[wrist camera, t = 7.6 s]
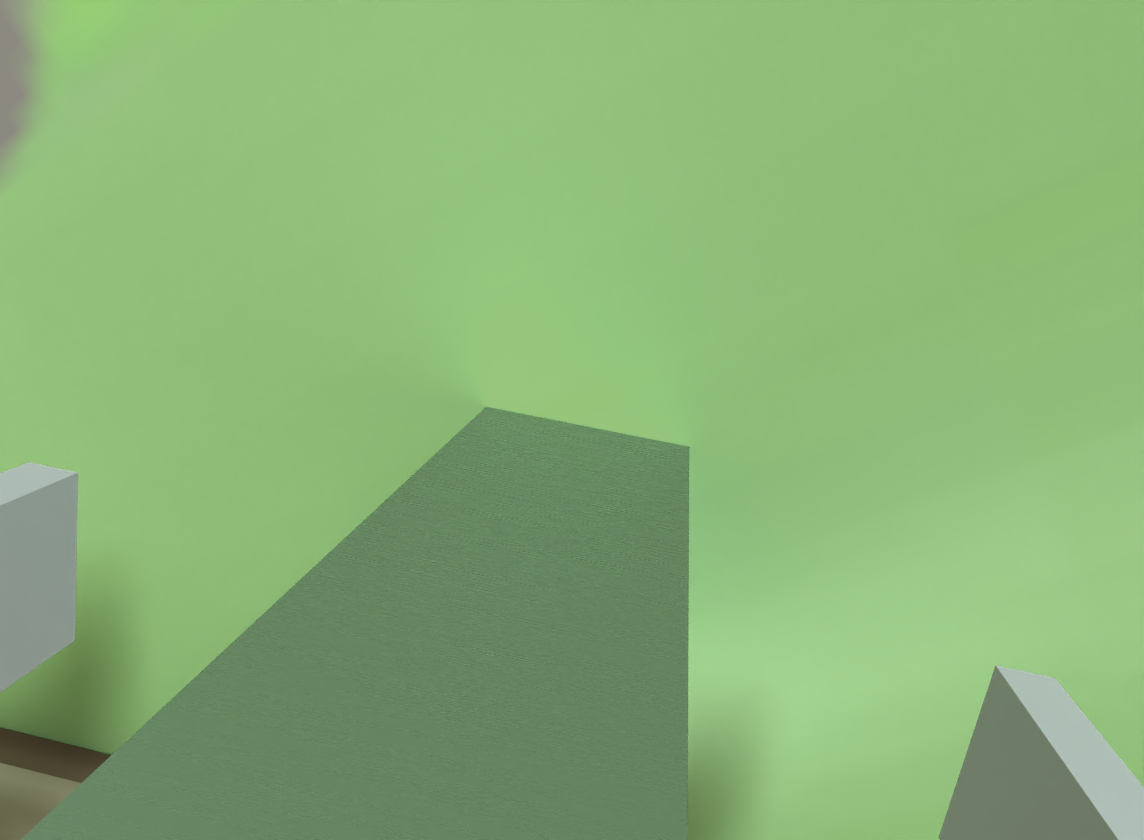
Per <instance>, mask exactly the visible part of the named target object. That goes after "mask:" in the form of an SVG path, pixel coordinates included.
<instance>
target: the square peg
mask: <svg viewBox="0 0 1144 840" xmlns="http://www.w3.org/2000/svg"><path fill="white" fill-rule="evenodd" d="M688 588H689V447H685V446H680V445H675V444H670V443H665V442H660V441H655V440H650V439H645V438H640V437H635V436H630V435H624V434H619V433H614V432H609V431H604V430H599V429H594V428H589V427H584V426H579V425H574V424H569V423H564V422H559V421H554V420H549V419H544V418H539V417H534V416H529V415H523V414H518V413H513V412H508V411H503V410H498V409H493V408H488V407H485V408H484V409H483V410H482V411H481V412H480V413H479V414H478V415H477V416H476V417H475V418H474V419H473V420H471V421H470V422H469V423H468V424H467V425H466V426H465V427H464V428H463V429H462V430H461V431H460V432H459V433H457V434H456V435H455V436H454V437H453V438H452V439H451V440H450V441H449V442H448V443H447V444H446V445H445V446H443V447H442V448H441V449H440V450H439V451H438V452H437V453H436V454H435V455H434V456H433V457H432V458H431V459H430V460H428V461H427V462H426V463H425V464H424V465H423V466H422V467H421V468H420V469H419V470H418V471H417V472H416V473H414V474H413V475H412V476H411V477H410V478H409V479H408V480H407V481H406V482H405V483H404V484H403V485H402V486H400V487H399V488H398V489H397V490H396V491H395V492H394V493H393V494H392V495H391V496H390V497H389V498H388V499H386V500H385V501H384V502H383V503H382V504H381V505H380V506H379V507H378V508H377V509H376V510H375V511H374V512H372V513H371V514H370V515H369V516H368V517H367V518H366V519H365V520H364V521H363V522H362V523H361V524H360V525H359V526H357V527H356V528H355V529H354V530H353V531H352V532H351V533H350V534H349V535H348V536H347V537H346V538H345V539H343V540H342V541H341V542H340V543H339V544H338V545H337V546H336V547H335V548H334V549H333V550H332V551H331V552H329V553H328V554H327V555H326V556H325V557H324V558H323V559H322V560H321V561H320V562H319V563H318V564H317V565H315V566H314V567H313V568H312V569H311V570H310V571H309V572H308V573H307V574H306V575H305V576H304V577H303V578H301V579H300V580H299V581H298V582H297V583H296V584H295V585H294V586H293V587H292V588H291V589H290V590H289V591H288V592H286V593H285V594H284V595H283V596H282V597H281V598H280V599H279V600H278V601H277V602H276V603H275V604H274V605H272V606H271V607H270V608H269V609H268V610H267V611H266V612H265V613H264V614H263V615H262V616H261V617H260V618H258V619H257V620H256V621H255V622H254V623H253V624H252V625H251V626H250V627H249V628H248V629H247V630H246V631H244V632H243V633H242V634H241V635H240V636H239V637H238V638H237V639H236V640H235V641H234V642H233V643H232V644H230V645H229V646H228V647H227V648H226V649H225V650H224V651H223V652H222V653H221V654H220V655H219V656H218V657H217V658H215V659H214V660H213V661H212V662H211V663H210V664H209V665H208V666H207V667H206V668H205V669H204V670H203V671H201V672H200V673H199V674H198V675H197V676H196V677H195V678H194V679H193V680H192V681H191V682H190V683H189V684H187V685H186V686H185V687H184V688H183V689H182V690H181V691H180V692H179V693H178V694H177V695H176V696H175V697H173V698H172V699H171V700H170V701H169V702H168V703H167V704H166V705H165V706H164V707H163V708H162V709H161V710H159V711H158V712H157V713H156V714H155V715H154V716H153V717H152V718H151V719H150V720H149V721H148V722H147V723H146V724H144V725H143V726H142V727H141V728H140V729H139V730H138V731H137V732H136V733H135V734H134V735H133V736H132V737H130V738H129V739H128V740H127V741H126V742H125V743H124V744H123V745H122V746H121V747H120V748H119V749H118V750H116V751H115V752H114V753H113V754H112V755H111V756H110V757H109V758H108V759H107V760H106V761H105V762H104V763H102V764H101V765H100V766H99V767H98V768H97V769H96V770H95V771H94V772H93V773H92V774H91V775H90V776H88V777H87V778H86V779H85V780H84V781H83V782H82V783H81V784H80V785H79V786H78V787H77V788H76V789H75V790H73V791H72V792H71V793H70V794H69V795H68V796H67V797H66V798H65V799H64V800H63V801H62V802H61V803H59V804H58V805H57V806H56V807H55V808H54V809H53V810H52V811H51V812H50V813H49V814H48V815H47V816H45V817H44V818H43V819H42V820H41V821H40V822H39V823H38V824H37V825H36V826H35V827H34V828H33V829H31V830H30V831H29V832H28V833H27V834H26V835H25V836H24V837H23V838H22V839H21V840H687V808H688Z"/></svg>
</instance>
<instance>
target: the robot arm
mask: <svg viewBox="0 0 1144 840" xmlns="http://www.w3.org/2000/svg"><path fill="white" fill-rule="evenodd" d="M77 500H78V472H73V471H68V470H63V469H59V468H54V467H49V466H44V465H40V464H35V463H30V462H29V463H26V464H24V465H21V466H18V467H16V468H13V469H10V470H8V471H5V472H2V473H0V692H2V691H3V690H5V689H6V688H8V687H9V686H10V685H12V684H13V683H15V682H16V681H18V680H19V679H20V678H22V677H23V676H25V675H26V674H28V673H29V672H30V671H32V670H33V669H35V668H36V667H38V666H39V665H41V664H42V663H43V662H45V661H46V660H48V659H49V658H51V657H52V656H53V655H55V654H56V653H58V652H59V651H61V650H62V649H63V648H65V647H66V646H68V645H69V644H71V643H72V642H73V641H75V610H76V555H77ZM939 839H940V840H1144V787H1143V786H1142V785H1141V784H1140V782H1139V781H1138V780H1137V779H1136V777H1135V776H1134V775H1133V774H1132V772H1131V771H1130V770H1129V769H1128V768H1127V766H1126V765H1125V764H1124V763H1123V761H1122V760H1121V759H1120V758H1119V756H1118V755H1117V754H1116V753H1115V752H1114V750H1113V749H1112V748H1111V747H1110V745H1109V744H1108V743H1107V742H1106V740H1105V739H1104V738H1103V737H1102V736H1101V734H1100V733H1099V732H1098V731H1097V729H1096V728H1095V727H1094V726H1093V724H1092V723H1091V722H1090V721H1089V720H1088V718H1087V717H1086V716H1085V715H1084V713H1083V712H1082V711H1081V710H1080V708H1079V707H1078V706H1077V705H1076V703H1075V702H1074V701H1073V700H1072V699H1071V697H1070V696H1069V695H1068V694H1067V692H1066V691H1065V690H1064V689H1063V687H1062V686H1061V685H1060V684H1059V683H1058V681H1057V680H1056V679H1055V678H1053V677H1048V676H1044V675H1039V674H1034V673H1029V672H1025V671H1020V670H1015V669H1010V668H1006V667H1001V666H995V669H994V672H993V675H992V678H991V681H990V684H989V687H988V690H987V693H986V696H985V699H984V702H983V705H982V708H981V711H980V714H979V717H978V720H977V723H976V726H975V729H974V732H973V735H972V738H971V741H970V744H969V747H968V750H967V753H966V756H965V759H964V762H963V765H962V768H961V771H960V774H959V777H958V781H957V784H956V787H955V790H954V793H953V796H952V799H951V802H950V805H949V808H948V811H947V814H946V817H945V820H944V823H943V826H942V829H941V832H940V835H939Z"/></svg>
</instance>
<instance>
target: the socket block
mask: <svg viewBox="0 0 1144 840" xmlns="http://www.w3.org/2000/svg"><path fill="white" fill-rule="evenodd" d="M110 756H111V755H108V754H104V753H100V752H96V751H92V750H88V749H84V748H80V747H76V746H72V745H68V744H64V743H60V742H56V741H52V740H48V739H43V738H39V737H35V736H31V735H27V734H23V733H19V732H15V731H11V730H7V729H3V728H0V840H21V839H22V838H23V837H24V836H25V835H26V834H27V833H28V832H29V831H30V830H31V829H33V828H34V827H35V826H36V825H37V824H38V823H39V822H40V821H41V820H42V819H43V818H44V817H45V816H47V815H48V814H49V813H50V812H51V811H52V810H53V809H54V808H55V807H56V806H57V805H58V804H59V803H61V802H62V801H63V800H64V799H65V798H66V797H67V796H68V795H69V794H70V793H71V792H72V791H73V790H75V789H76V788H77V787H78V786H79V785H80V784H81V783H82V782H83V781H84V780H85V779H86V778H87V777H88V776H90V775H91V774H92V773H93V772H94V771H95V770H96V769H97V768H98V767H99V766H100V765H101V764H102V763H104V762H105V761H106V760H107V759H108V758H109V757H110Z"/></svg>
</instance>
